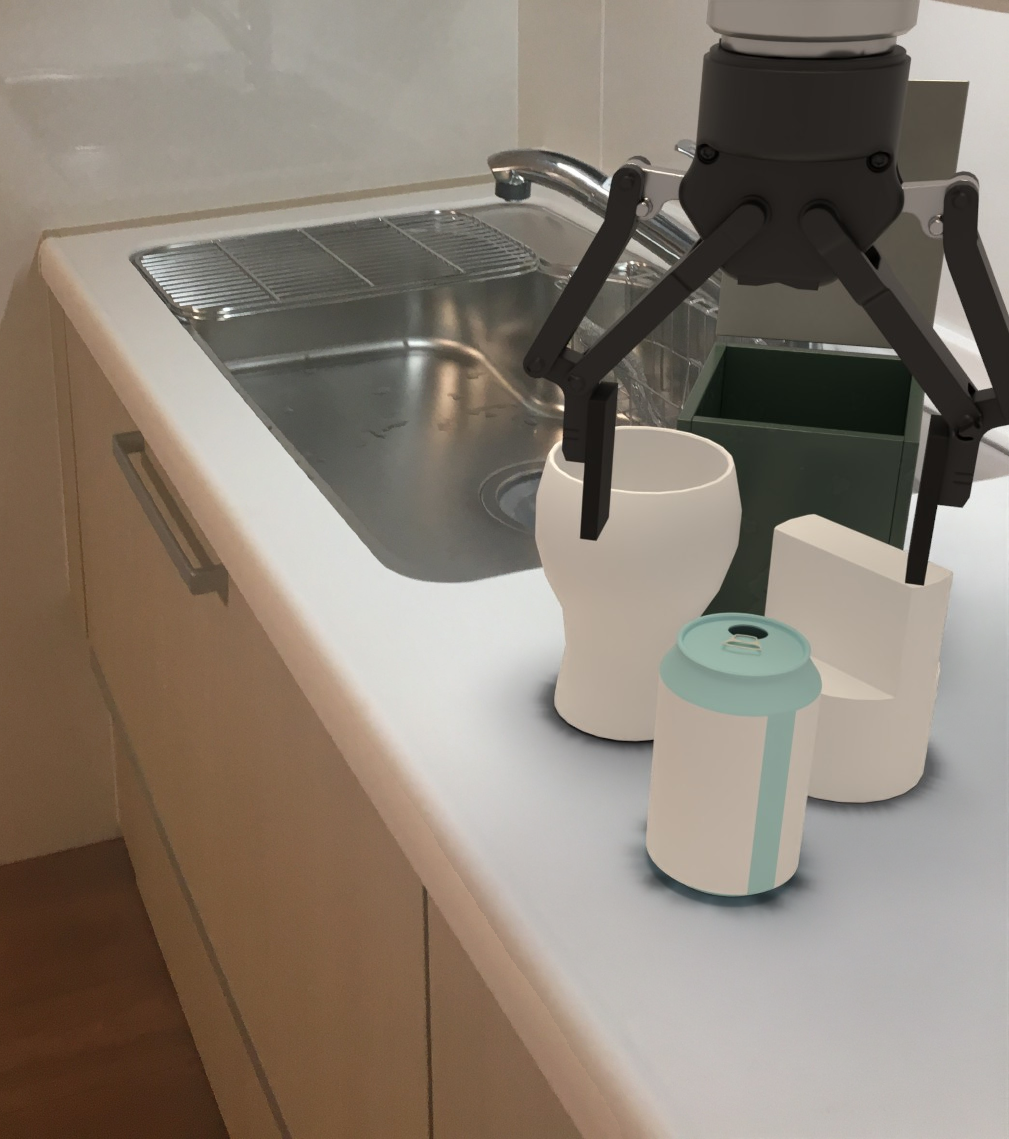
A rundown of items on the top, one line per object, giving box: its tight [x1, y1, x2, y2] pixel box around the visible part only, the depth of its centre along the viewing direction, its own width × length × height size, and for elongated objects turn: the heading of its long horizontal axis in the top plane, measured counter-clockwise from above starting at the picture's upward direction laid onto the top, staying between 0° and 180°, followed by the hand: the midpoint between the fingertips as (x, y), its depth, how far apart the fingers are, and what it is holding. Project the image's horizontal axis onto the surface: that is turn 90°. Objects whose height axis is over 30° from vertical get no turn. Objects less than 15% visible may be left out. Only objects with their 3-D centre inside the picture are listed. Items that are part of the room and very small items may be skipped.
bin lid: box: [714, 78, 970, 350], centre depth 94 cm, size 16×13×1 cm
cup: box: [534, 425, 742, 742], centre depth 84 cm, size 11×11×15 cm
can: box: [645, 613, 822, 897], centre depth 72 cm, size 7×7×12 cm
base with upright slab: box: [765, 514, 954, 803], centre depth 80 cm, size 9×9×12 cm
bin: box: [675, 340, 926, 617], centre depth 94 cm, size 15×13×15 cm
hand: (749, 549), depth 68 cm, fingers open, 13 cm apart
